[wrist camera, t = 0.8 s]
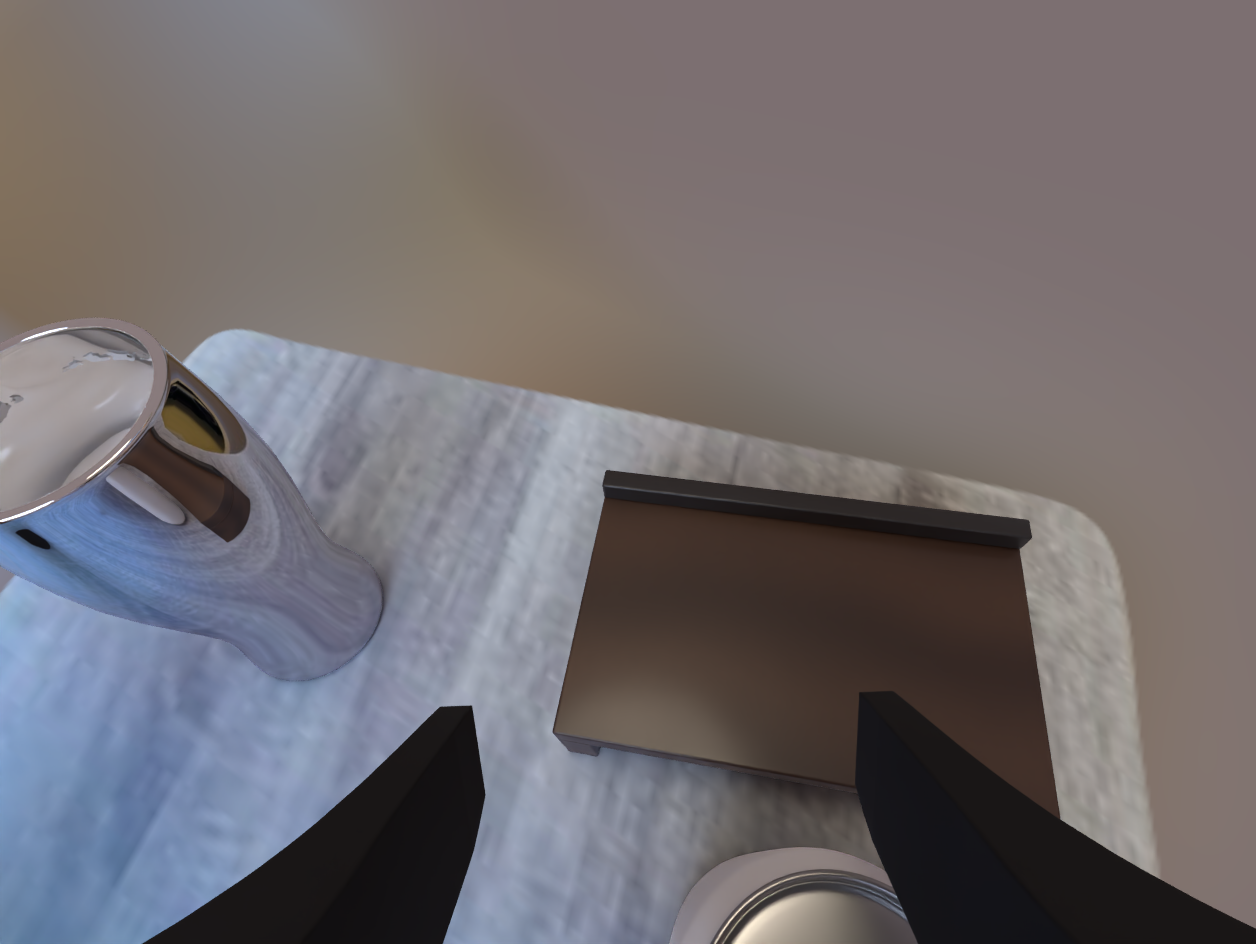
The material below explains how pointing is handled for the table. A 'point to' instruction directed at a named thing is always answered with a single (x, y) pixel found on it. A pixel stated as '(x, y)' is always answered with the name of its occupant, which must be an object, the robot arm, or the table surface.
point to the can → (793, 902)
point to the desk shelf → (799, 631)
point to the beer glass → (166, 503)
